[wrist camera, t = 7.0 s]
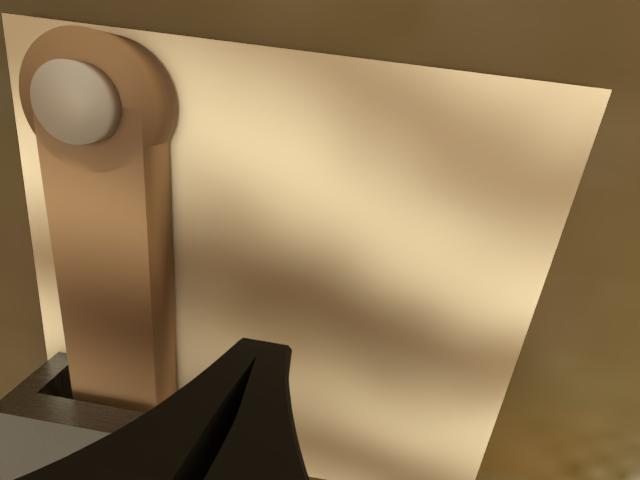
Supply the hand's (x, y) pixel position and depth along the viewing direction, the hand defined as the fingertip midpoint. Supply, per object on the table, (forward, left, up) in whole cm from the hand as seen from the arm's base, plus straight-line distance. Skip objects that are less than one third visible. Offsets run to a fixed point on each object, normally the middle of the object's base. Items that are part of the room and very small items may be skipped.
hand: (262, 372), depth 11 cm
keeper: (-5, +6, -4) cm, 9 cm away
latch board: (0, +1, -4) cm, 4 cm away
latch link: (0, +5, -3) cm, 6 cm away
